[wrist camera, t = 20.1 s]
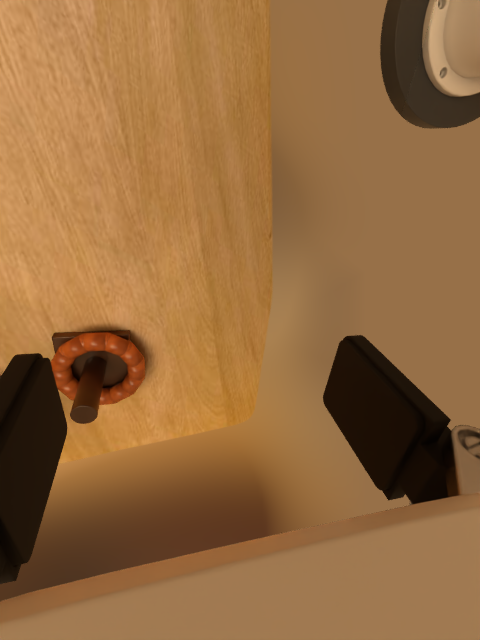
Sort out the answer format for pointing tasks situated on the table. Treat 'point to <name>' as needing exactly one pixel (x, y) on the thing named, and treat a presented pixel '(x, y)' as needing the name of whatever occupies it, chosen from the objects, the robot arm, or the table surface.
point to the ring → (99, 343)
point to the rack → (93, 375)
